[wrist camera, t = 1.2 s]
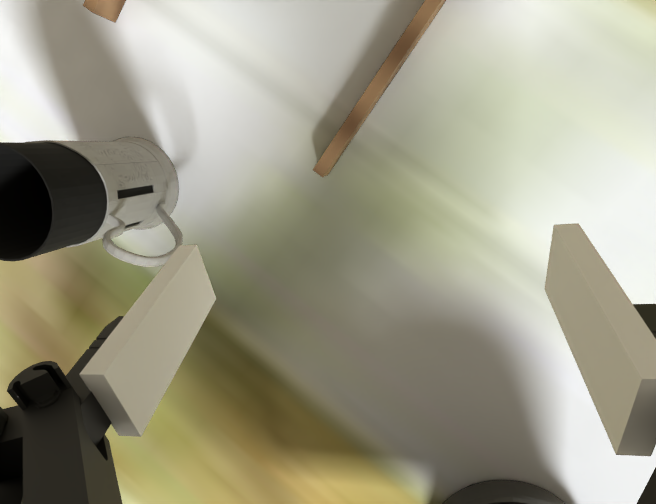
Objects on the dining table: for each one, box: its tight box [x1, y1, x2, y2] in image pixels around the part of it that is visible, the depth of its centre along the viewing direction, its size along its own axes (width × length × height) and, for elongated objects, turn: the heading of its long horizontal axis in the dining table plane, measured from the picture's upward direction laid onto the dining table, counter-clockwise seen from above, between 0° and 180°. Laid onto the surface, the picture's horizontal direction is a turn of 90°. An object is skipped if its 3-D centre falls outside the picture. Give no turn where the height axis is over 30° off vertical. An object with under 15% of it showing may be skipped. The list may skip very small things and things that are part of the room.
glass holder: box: [0, 137, 182, 267], centre depth 35 cm, size 9×14×15 cm, turn 64°
